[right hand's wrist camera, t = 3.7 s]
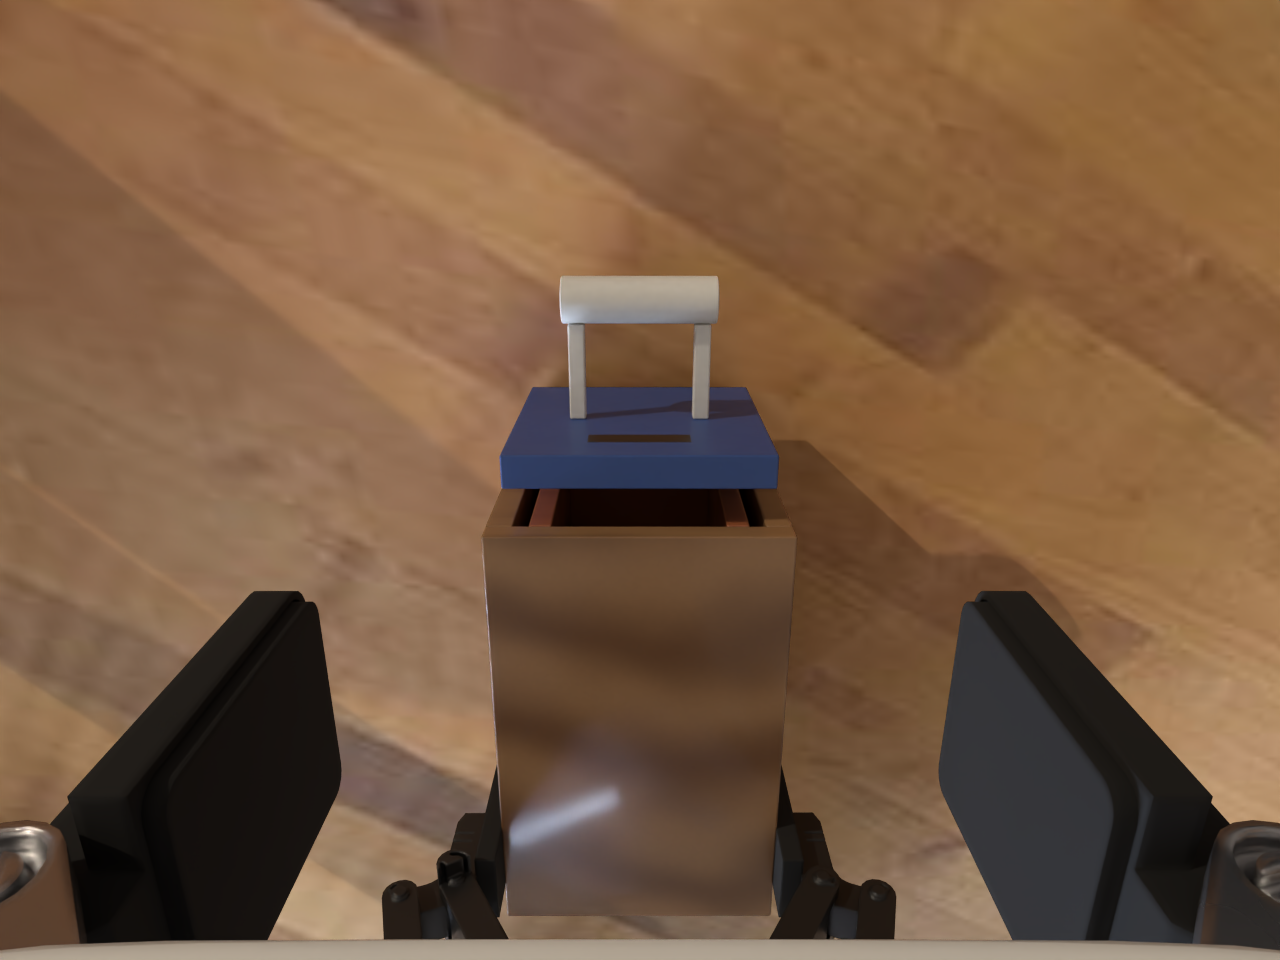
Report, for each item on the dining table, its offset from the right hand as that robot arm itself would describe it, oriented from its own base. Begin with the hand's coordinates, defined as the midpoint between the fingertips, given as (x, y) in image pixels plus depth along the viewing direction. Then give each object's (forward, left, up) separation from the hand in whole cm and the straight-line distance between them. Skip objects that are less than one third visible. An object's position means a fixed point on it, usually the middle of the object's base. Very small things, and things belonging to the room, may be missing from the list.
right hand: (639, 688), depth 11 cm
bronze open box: (-10, -8, -27) cm, 30 cm away
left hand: (-14, -12, -21) cm, 28 cm away
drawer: (-6, -5, -26) cm, 27 cm away
